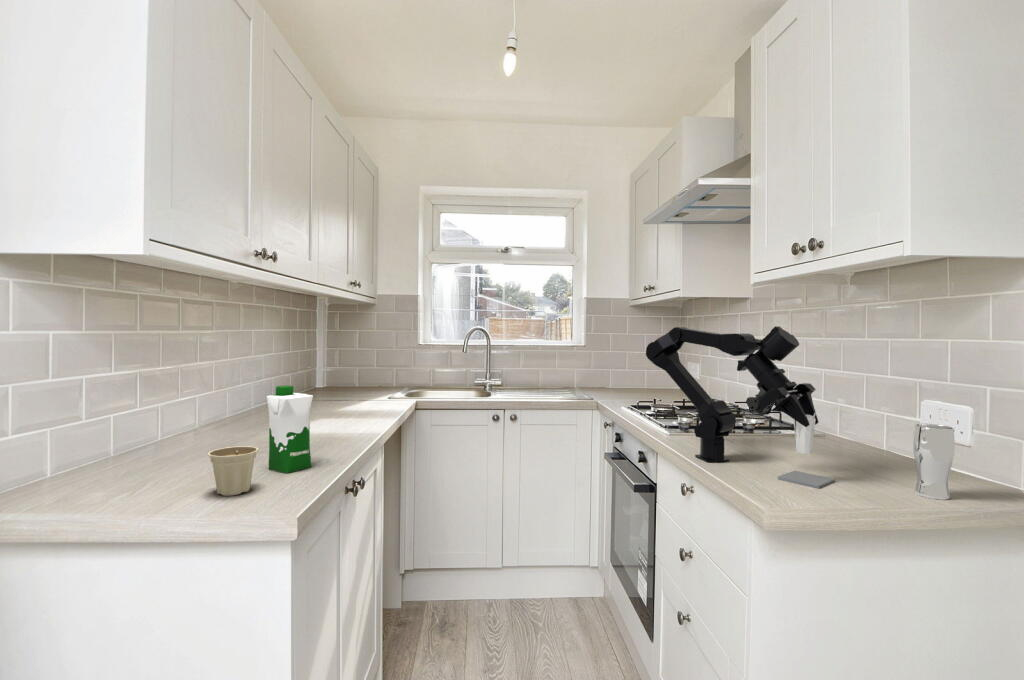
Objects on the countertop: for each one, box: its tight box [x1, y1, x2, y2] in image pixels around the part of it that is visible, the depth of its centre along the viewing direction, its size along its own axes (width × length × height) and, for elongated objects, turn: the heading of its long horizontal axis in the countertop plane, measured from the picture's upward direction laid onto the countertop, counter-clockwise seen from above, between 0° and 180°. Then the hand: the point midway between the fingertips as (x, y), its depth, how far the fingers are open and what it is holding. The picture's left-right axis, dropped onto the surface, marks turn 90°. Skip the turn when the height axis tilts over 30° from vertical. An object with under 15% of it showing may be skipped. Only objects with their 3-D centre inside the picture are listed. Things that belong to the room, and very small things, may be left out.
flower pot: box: [207, 445, 259, 497], centre depth 113 cm, size 9×9×9 cm
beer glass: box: [912, 423, 956, 501], centre depth 115 cm, size 7×7×15 cm
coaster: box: [777, 469, 836, 489], centre depth 126 cm, size 9×9×1 cm
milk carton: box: [266, 385, 314, 474], centre depth 131 cm, size 9×9×20 cm
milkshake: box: [793, 412, 817, 455], centre depth 125 cm, size 4×5×10 cm
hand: (812, 424), depth 124 cm, fingers closed on milkshake, 4 cm apart
